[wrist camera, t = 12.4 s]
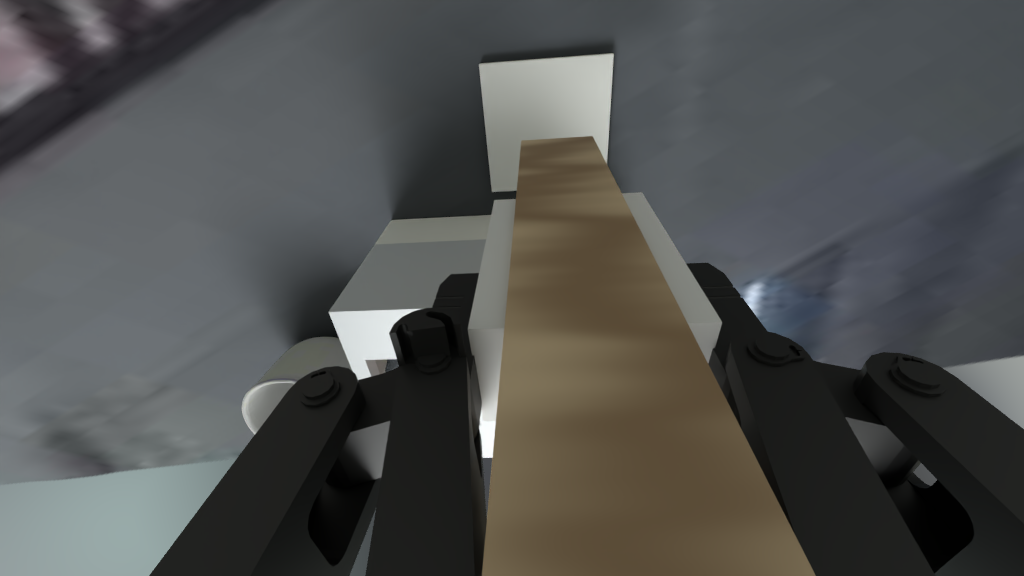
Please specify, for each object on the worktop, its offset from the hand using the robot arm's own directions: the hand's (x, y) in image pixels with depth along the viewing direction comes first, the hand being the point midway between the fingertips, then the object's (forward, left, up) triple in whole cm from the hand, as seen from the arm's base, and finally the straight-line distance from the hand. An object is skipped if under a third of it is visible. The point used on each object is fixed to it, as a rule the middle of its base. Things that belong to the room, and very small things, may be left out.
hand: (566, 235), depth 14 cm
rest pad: (0, 0, -16) cm, 16 cm away
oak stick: (0, 0, -7) cm, 7 cm away
